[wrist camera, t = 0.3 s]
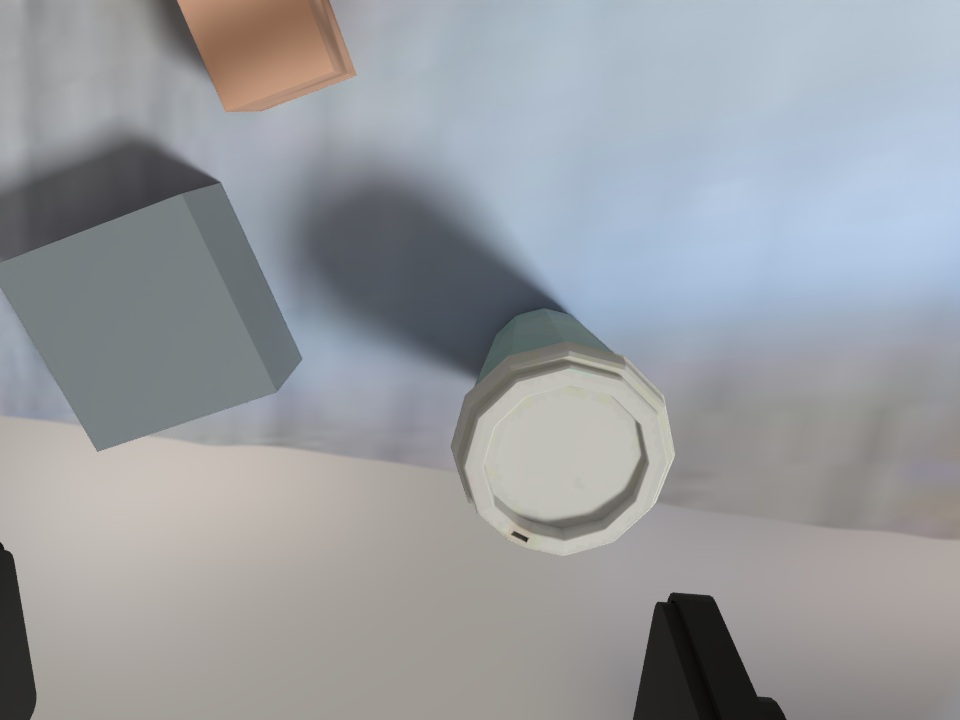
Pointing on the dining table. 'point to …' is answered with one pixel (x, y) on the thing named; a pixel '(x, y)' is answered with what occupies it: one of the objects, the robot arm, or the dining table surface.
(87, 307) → the slate box
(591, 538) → the disposable coffee cup
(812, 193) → the dining table surface
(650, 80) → the dining table surface
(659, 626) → the robot arm
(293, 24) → the terracotta cube
